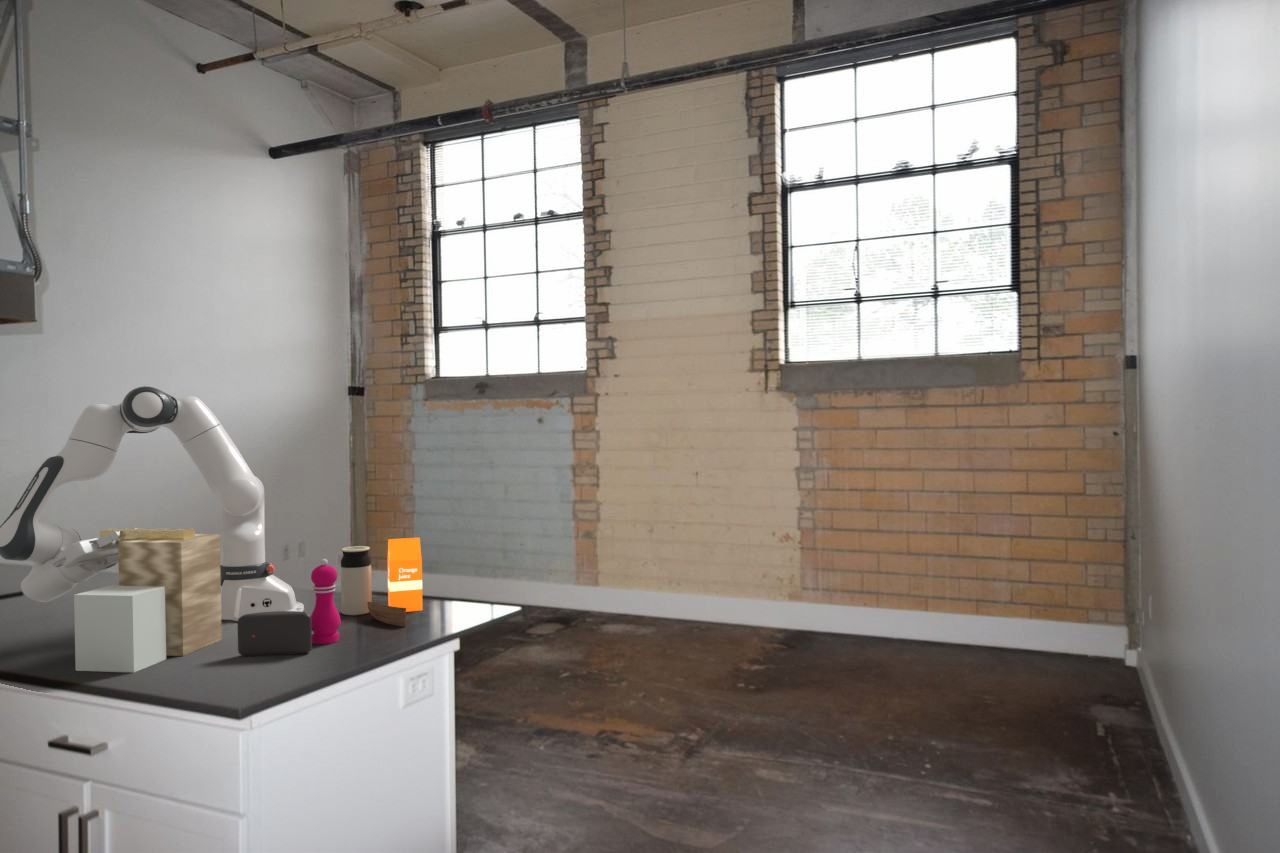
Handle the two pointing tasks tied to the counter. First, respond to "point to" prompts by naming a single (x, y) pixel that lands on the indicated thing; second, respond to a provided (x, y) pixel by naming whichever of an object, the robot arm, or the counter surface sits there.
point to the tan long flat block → (151, 533)
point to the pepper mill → (324, 605)
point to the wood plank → (388, 614)
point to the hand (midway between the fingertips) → (127, 531)
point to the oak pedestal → (179, 585)
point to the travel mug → (355, 580)
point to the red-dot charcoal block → (274, 633)
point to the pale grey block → (120, 628)
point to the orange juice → (405, 574)
